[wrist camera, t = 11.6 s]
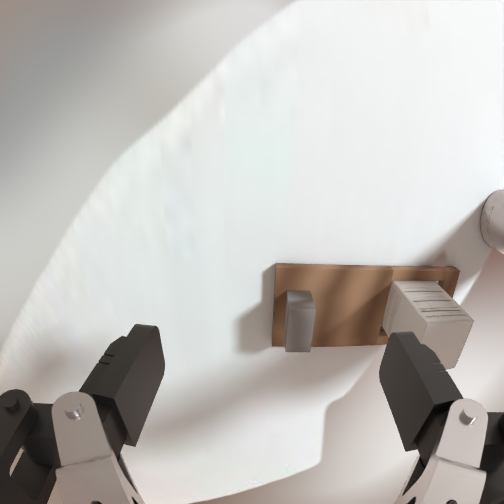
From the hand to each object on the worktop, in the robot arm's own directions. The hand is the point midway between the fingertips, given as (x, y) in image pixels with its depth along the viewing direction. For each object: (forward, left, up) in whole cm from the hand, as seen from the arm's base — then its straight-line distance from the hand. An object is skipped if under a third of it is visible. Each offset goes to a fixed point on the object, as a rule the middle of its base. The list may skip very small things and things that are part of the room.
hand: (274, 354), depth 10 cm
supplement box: (-20, +13, -28) cm, 37 cm away
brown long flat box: (-15, +14, -28) cm, 34 cm away
